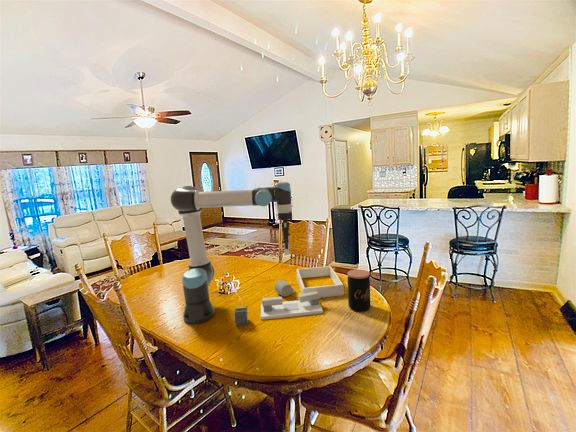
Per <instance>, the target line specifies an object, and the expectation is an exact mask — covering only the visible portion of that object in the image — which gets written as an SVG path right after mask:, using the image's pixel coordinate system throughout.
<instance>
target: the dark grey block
mask: <svg viewBox="0 0 576 432" xmlns="http://www.w3.org/2000/svg"><path fill="white" fill-rule="evenodd" d="M248 313H249V312H248V306H247V305H242V306H241V305H240V306H235V307H234V321H235V327H244V326H249V325H248V324H249V314H248Z"/></svg>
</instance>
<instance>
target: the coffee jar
mask: <svg viewBox="0 0 576 432" xmlns="http://www.w3.org/2000/svg"><path fill="white" fill-rule="evenodd" d="M346 274H347V297H348V298H347V301H348V303H347V304H348V307H349V309H350V310H351V311H354V312H358V313H364V312H367V311H369V310H370V308H371V279H370V275H371V274H370V272H369V271H368V270H365V269H361V268H360V269H351V270H348V271H347V273H346Z"/></svg>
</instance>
